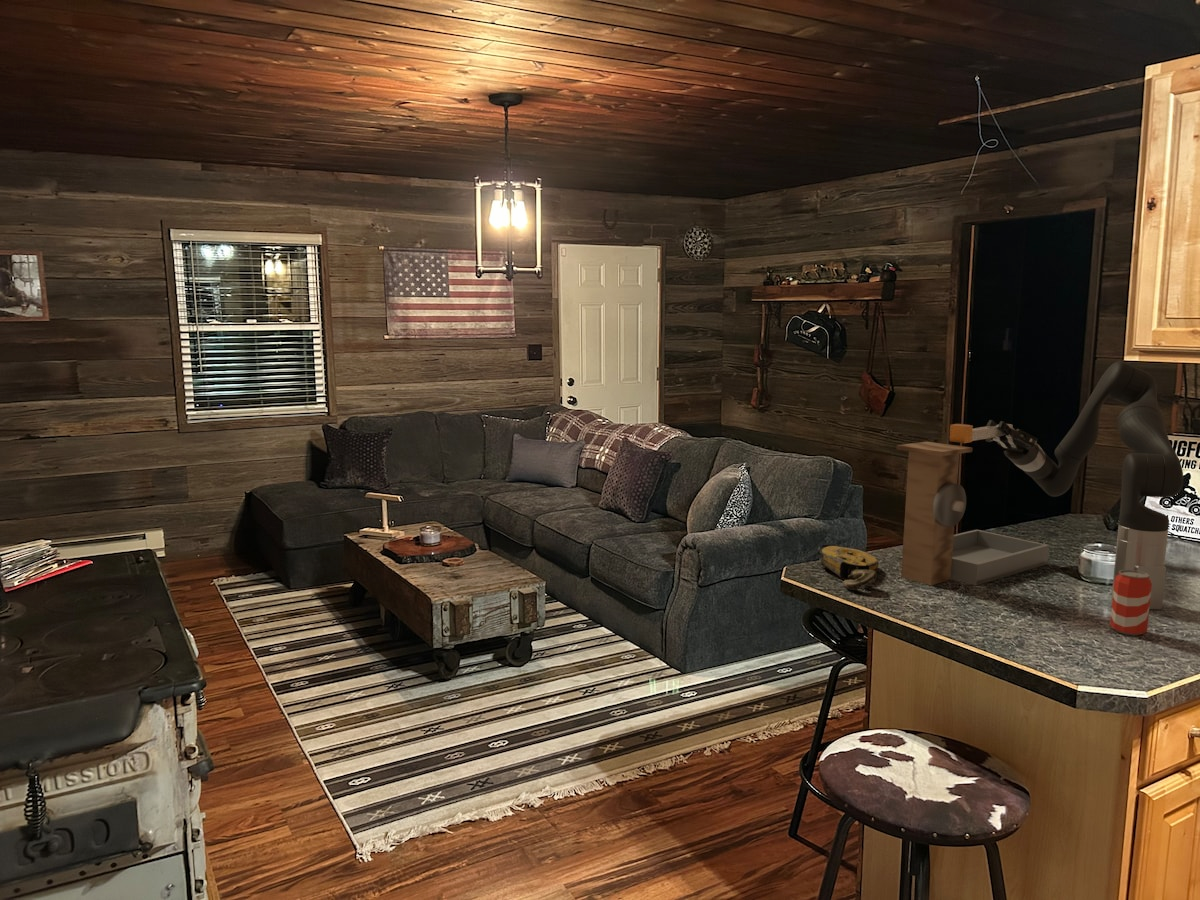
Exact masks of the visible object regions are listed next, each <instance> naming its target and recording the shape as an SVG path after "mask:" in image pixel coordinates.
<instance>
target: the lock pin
mask: <svg viewBox="0 0 1200 900" xmlns="http://www.w3.org/2000/svg"><path fill="white" fill-rule="evenodd" d="M1006 424H1007V425H1008V426H1009V427H1012V428H1014V427H1013V424H1010V423H1006ZM998 426H999V423H998V424H997V425H993V426H987V425H985V426H980V427H975V428H973V427H974V426H973V424H972V425H971V424H964V423H954V424H950V426H949V427H950V428H949V442H954V443H961V444H967V443H968V444H969V443H972V442H973V441H974V442H975V441H980V440H986V438H992V437H998V436H1004V434H1003V433H1002V432H1001V431H1000V430H999V429H998Z"/></svg>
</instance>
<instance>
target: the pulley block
mask: <svg viewBox="0 0 1200 900" xmlns="http://www.w3.org/2000/svg"><path fill="white" fill-rule="evenodd" d="M817 547H818V549H817V551H816V555H819V557H818V558H819V564H821V565H822V566H824V567H825V568H827V569H828V570H829V571H831V572H833V573H834V574H836V575H837V576H838V577H839V578H841V579H843V580H844V581H843V582H842V585H843V586H845V588H846V589H848V590H849V591H857V590H862V591H864V589H865V588H867V587H868V586H870V585H872V584H873V583H874V582H876V580H877V578H878V574H877V573H878V572H879V569H878V567H879V561H878V559H877V558H876V557H875V556H873V555H871V554H870V553H868V552H866V551H863V550H860V549H855V548H851V547H850V548H849V547H846V546H842V545H836V544H821V545H820V546H817Z"/></svg>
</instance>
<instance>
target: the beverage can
mask: <svg viewBox="0 0 1200 900" xmlns="http://www.w3.org/2000/svg"><path fill="white" fill-rule="evenodd" d="M1151 588H1152V583H1151V581H1150V579H1149V575H1148V574H1147V573H1144V572H1140V571H1135V570H1120V571H1119V574H1118V576H1117V577H1116V578H1115V580H1114V590H1113V600H1112V599H1111V601H1112V602H1111V612H1110V621H1109V622H1110V623H1109V626H1110V627H1111V628H1112V629H1114V630H1115V631H1116V632H1117V633H1120V634H1123V635H1126V636H1127V635H1128V636H1141V634H1146V633H1147V631H1148V625H1149V617H1150V615H1149V614H1150V609H1149V607H1150V598H1151Z"/></svg>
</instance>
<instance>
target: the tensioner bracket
mask: <svg viewBox="0 0 1200 900" xmlns="http://www.w3.org/2000/svg"><path fill="white" fill-rule="evenodd" d="M898 450H899V451H905V452H908V459H907V461H908V462H907V474H906V475H907V477H906V493H905V495H906V496H905V507H904V508H905V509H904V510H905V511H904V525H903V541H902V557H901V558H902V559H901V573H900V578H902V577H903V579H906V580H910V581H914V582H917V583H920V584H924V585H926V586H927V585H928V586H932V585H933V586H934V585H936V584H940V583H944V582H948V581H951V580H952V579H951V566H952V552H953V537H954V535H955V534H954V533H955V526H956V525H958V524H959V523H960V521H961V520H962V518H963V517H964V514H965V513H966V512H965V511H966V508H967V495H966V491H965V488H964V487H963V486H962V485H961V484H959V483H958V479H959V478H958V477H959V476H958V475H959V463H960V462H959V461H960V454H966V453H973V450H974V449H973V447H969V446H963V445H956V444H949V443H947V444H946V443H942V442H941V443H939V442H933V441H921V442H912V443H906V444H905V443H904V444H897V445H896V451H898Z"/></svg>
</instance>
